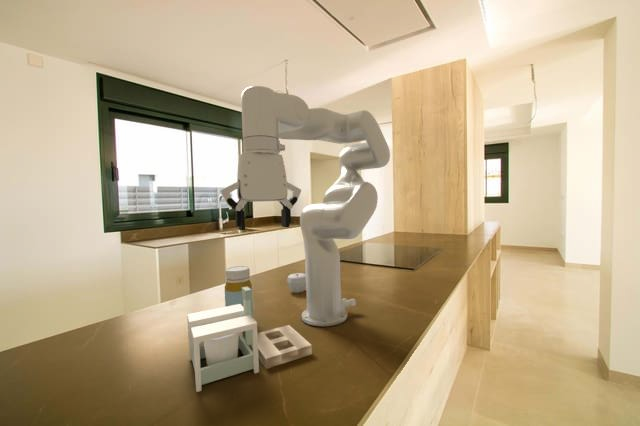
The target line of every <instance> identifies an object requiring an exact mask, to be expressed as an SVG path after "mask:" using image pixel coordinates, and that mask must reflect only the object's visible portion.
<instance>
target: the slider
mask: <svg viewBox="0 0 640 426" xmlns="http://www.w3.org/2000/svg"><path fill="white" fill-rule="evenodd" d="M242 297H243V305H244V316H247V315H251V300H252V301H253V297H252V298H251V289H250V288H249V287H242ZM250 344H252V329H251V330H247V331H244V336H242V335H239V337H238V350H239V349H240V351H241V353H242V355H243V356H238V358H235V359H231V360H228V361H224V362H221V363H217V364H214V365H210V366H207V365H206V366H204V367H200V370H201V386H203V385H207V384H210V383H213V382H215V381H218V380H222V379H225V378H228V377H231V376H236V375H238V374H241V373H244V372H247V371H251V370H254V366H253V349H252V347H251V346H250ZM191 348H192V360H191V361H192V365H193V368H194V369H193V370H194V371H195V360H194V346H193V347H191ZM199 349H200V360H202V359H206V355H205V348H204V344H201V345H199Z"/></svg>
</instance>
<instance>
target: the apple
mask: <svg viewBox="0 0 640 426" xmlns="http://www.w3.org/2000/svg"><path fill="white" fill-rule="evenodd" d="M286 284H287V287H288V289H289V290H290V291H291V292H292V293H294V294H299V293H300V292H301V293H303V292H304V291H305V290H306V273H303V272H301V273H300V272H297V273H291V274H289V275H288V276H287V279H286Z"/></svg>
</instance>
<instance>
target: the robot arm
mask: <svg viewBox="0 0 640 426" xmlns="http://www.w3.org/2000/svg"><path fill="white" fill-rule="evenodd" d="M240 99H241V100H240V101H241V102H240V103H241V104H240V105H241V122H242V123H241V125H242V126H241V128H242V146H243V149H242V150H243V153H240V154H239V157H238V162H237V163H238V164H237V174H236V175H237V178H236V179H237V181H235V182H234V183H232V184H230V185H228V186H227V187H224V188H222V189H220V194H221V196H222V197H223V199H224V200H225V202H226V204H227V205H228V206H229V207H230V208H232V210H234V212H235V213H234V214H235V216H234V218H235V226H236V227H238V231H243V232H244V231H245V230H246V218H245V215H246V214H245V211H244V210H243V208H244V207H245V206H246V204H247V203H248V202H251V203H252V202H255V203H256V202H278V203H279V204H280V206H281V207H282V209H281V210H280V214H281V216H280V217H281V218H280V219H281V227H282V228H290V224H291V222H292V218H291V217H292V216H291V215H292V213H291V211H292V209H293V207H294V205H295V204H296V203H297V202H298V199H299V197H300V195H301V192H302V189H301V188H299V187H297V186H296V185H293V184H292V183H290V182H288V180H287V171H286V166H285V162H284V158H283V154H280V153H281V152H285V151H286V145H285V144H282V143H280V142H281V141H280V140H296V141H299V140H300V141H322V142H327V143H332V144H336V145H337V144H339V145H345V144H351V143H356V144H351V145H348V146H346V147H344V148H343V149H342V150H341V152H340V153H339V156H338V165H339V177H338V178H337V180H335V182H334V183H333V184H332V185H331V186H330V187H329V188H328V189H327V191H326V192H325V193H324V196H323V199H322V202H316V203H310V204H309V205H307V206H305V207H304V208H303V209H302V211H301V213H300V217H299V224H300V225H299V226H300V229H301V234H302V238H303V247H304V262H305V263H304V265H305V274H306V288H305V290H306V295H305V296H306V309H305V310H304V311H302V313H301V320H302V321H303V323H305V324H307V325H310V326H314V327H331V326H332V327H333V326H336V325H340V324H342V323H344V322H345V321H346V320H347V319H348V312H347V310H346V309H347V308H348V307H354V306H357V305H356V304H357V301H356V299H355V298H350V299H348V298H346V297H343V298H342V289H341V288H342V286H341V284H342V283H341V256H340V254H341V253H340V250H339V248H338V245H337V243H336V241H335V240H334V239H338V240H352V239H356V238H357V237H358V236H359V235H361V233H362V232H363V230H364V229H365V227H366V226H367V224H368V223H369V221H370V219H371V218H372V216H373V215H374V213H375V211H376V209H377V207H378V200H379V199H378V198H379V197H378V192H377V189H376V188H375V186H374V185H373V184H372V183H371V182H368V181H365V180H364V179H363V177H362V176H361V174H360V173H359V172H358V171H364V170H365V171H366V170H372V169H373V170H374V169H379V168H380V169H381V168H384V167H385V166H387V165H388V163H389V162H390V158H391V153H390V148H389V145H388V142H387V139H386V138H385V136H384V133H383V131H382V129H381V127H380V126H379V124H378V121H377V119H376V118H375V116H374V115H373V113H371V112H370V111H368V110H359V111H355V112H352V113H346V114H343V113H339V112H336V111H333V110H330V109H328V108H324V107H322V108H321V107H318V108H316V107H315V108H310V107H309V105H308V104H307V102H306V101H305V100H304V99H303V98H301V96H300V97H299V96H298V95H293V94H289V93H284V92H283V93H282V92H277V91H274V90H273V89H272V88H269V87H267V86H261V85H253V86H249V87H246V88H245V89H244V90H243V91H242V92H241V96H240ZM279 139H280V140H279ZM363 141H365V142H363ZM358 142H361V143H358ZM362 142H363V143H362ZM236 190H237V191H236ZM233 191H236V195H237V199H238V201H237V202H236V200H235V199H233V197H232V196H231V193H232V192H233ZM288 191H289V192H292V194H291V197H290V198H289V199H288Z"/></svg>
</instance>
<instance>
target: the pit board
mask: <svg viewBox="0 0 640 426" xmlns="http://www.w3.org/2000/svg"><path fill="white" fill-rule="evenodd" d="M257 335H258V359H259V361H260V362H261V363H262V365H263V366H264V368H265V370H267V369H268V370H269V369H270V368H274V367H276V366H280V365H283V364H287V363H289V362H293V361H295V360H298V359H299V360H300V359H301V358H304V357H308V356H311V355H313V348H312V347H313V345H312V344H311V343H310V342H309V341H308V340H307V339H305V337H304V336H302V335H301V334H300V333H299V332H298V331H296V330H295V328H293V327H292V325H290V324H288V325H283V326H279V327H275V328H271V329H268V330H265V331H260V332H257ZM249 347H250V348H251V350H253V343H252V344H250V345H249Z"/></svg>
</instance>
